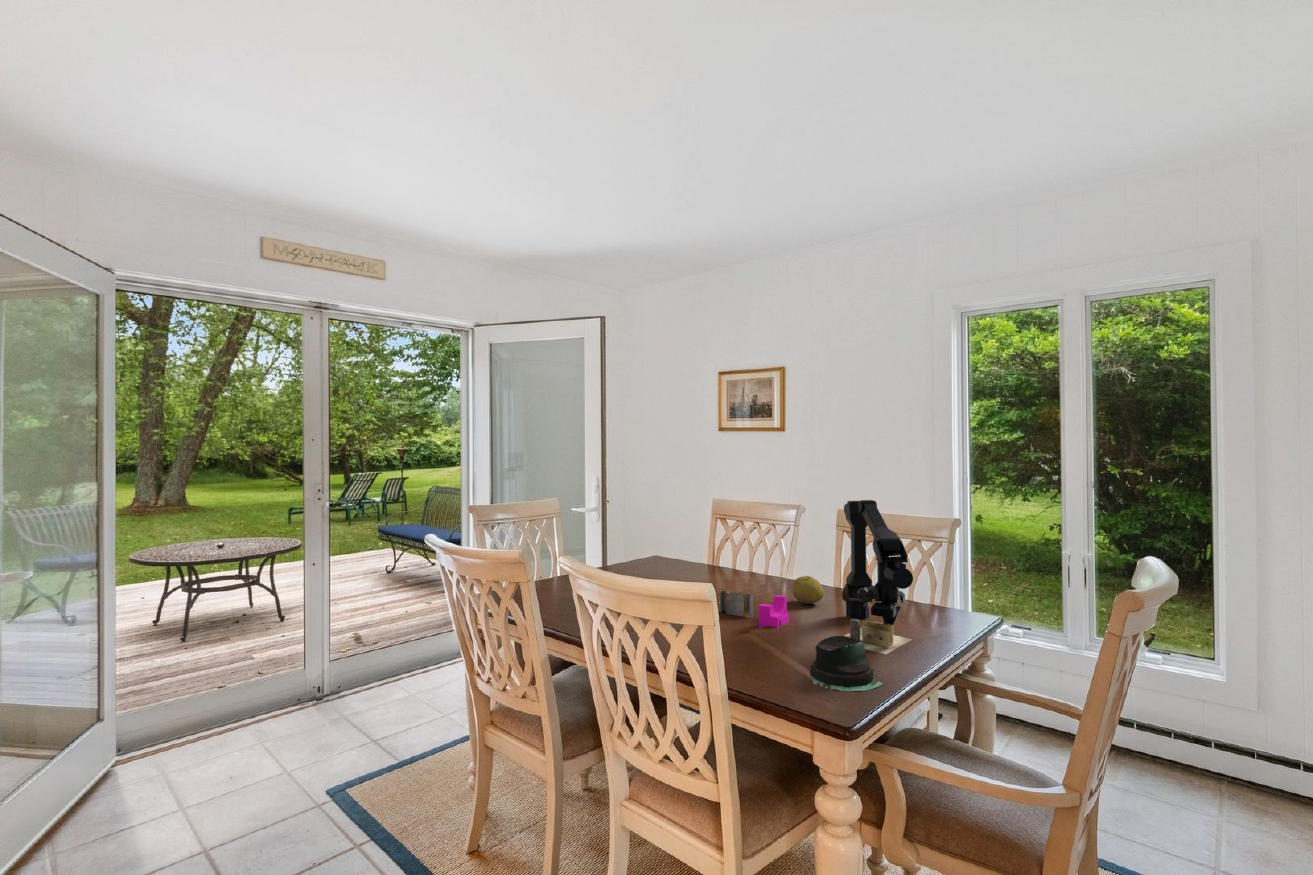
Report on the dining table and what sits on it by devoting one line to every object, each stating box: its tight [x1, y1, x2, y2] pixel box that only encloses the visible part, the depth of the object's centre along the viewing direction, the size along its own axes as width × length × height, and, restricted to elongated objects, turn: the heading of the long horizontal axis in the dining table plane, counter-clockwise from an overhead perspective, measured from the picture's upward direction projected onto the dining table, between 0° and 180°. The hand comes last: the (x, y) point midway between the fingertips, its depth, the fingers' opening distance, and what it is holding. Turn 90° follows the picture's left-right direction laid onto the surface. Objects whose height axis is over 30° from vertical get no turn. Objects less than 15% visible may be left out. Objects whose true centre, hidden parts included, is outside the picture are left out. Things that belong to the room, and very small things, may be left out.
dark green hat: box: [809, 634, 884, 692], centre depth 156 cm, size 20×20×9 cm
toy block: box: [758, 594, 790, 628], centre depth 199 cm, size 15×6×8 cm, turn 148°
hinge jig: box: [843, 618, 913, 655], centre depth 178 cm, size 16×17×7 cm
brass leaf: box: [861, 619, 894, 644], centre depth 177 cm, size 8×1×5 cm, turn 61°
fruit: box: [791, 575, 825, 605], centre depth 222 cm, size 11×12×10 cm
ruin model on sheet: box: [719, 586, 754, 618], centre depth 210 cm, size 11×3×10 cm, turn 58°
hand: (888, 632), depth 177 cm, fingers closed
